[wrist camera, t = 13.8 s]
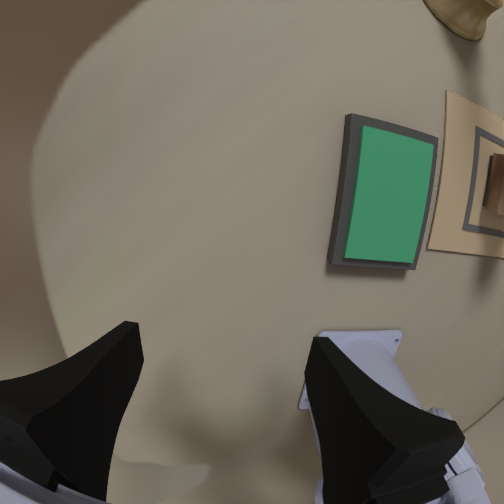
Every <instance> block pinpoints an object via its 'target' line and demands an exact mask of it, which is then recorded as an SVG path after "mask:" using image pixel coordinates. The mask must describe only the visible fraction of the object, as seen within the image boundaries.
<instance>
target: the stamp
mask: <svg viewBox="0 0 504 504" xmlns="http://www.w3.org/2000/svg"><path fill="white" fill-rule="evenodd" d="M482 206H484V207H485V209H486V210H489V211H492V212H494V213H497V214H499V215H502V216H504V154H497V153H493V156H492V155H490V160H489V168H488V175H487V182H486V188H485V194H484V199H483V204H482Z"/></svg>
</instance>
